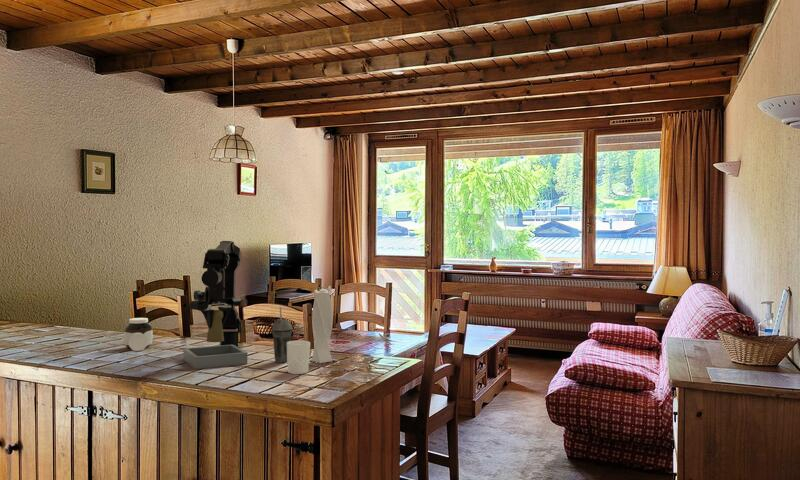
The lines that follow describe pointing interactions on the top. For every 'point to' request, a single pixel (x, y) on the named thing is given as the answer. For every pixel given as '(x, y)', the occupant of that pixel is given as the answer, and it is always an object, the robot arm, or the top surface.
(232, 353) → the tray
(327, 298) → the grey tall twisted column
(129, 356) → the top surface
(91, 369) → the top surface
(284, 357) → the beverage cup
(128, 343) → the spread jar
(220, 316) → the olive gourd-shaped piece
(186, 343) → the top surface
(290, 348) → the white cup
